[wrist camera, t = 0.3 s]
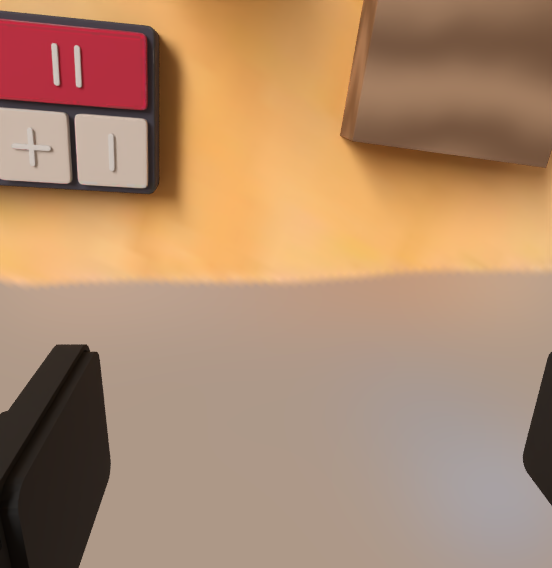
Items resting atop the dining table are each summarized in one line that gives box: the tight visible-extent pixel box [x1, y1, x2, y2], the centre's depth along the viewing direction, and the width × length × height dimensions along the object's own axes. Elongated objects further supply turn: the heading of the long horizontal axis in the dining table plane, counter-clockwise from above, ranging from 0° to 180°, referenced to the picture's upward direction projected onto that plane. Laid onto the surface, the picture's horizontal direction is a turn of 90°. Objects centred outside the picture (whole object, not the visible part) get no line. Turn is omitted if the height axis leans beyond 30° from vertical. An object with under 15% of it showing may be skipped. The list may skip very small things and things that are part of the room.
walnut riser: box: [340, 0, 552, 168], centre depth 35 cm, size 15×14×5 cm
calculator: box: [0, 11, 159, 194], centre depth 35 cm, size 11×4×15 cm
